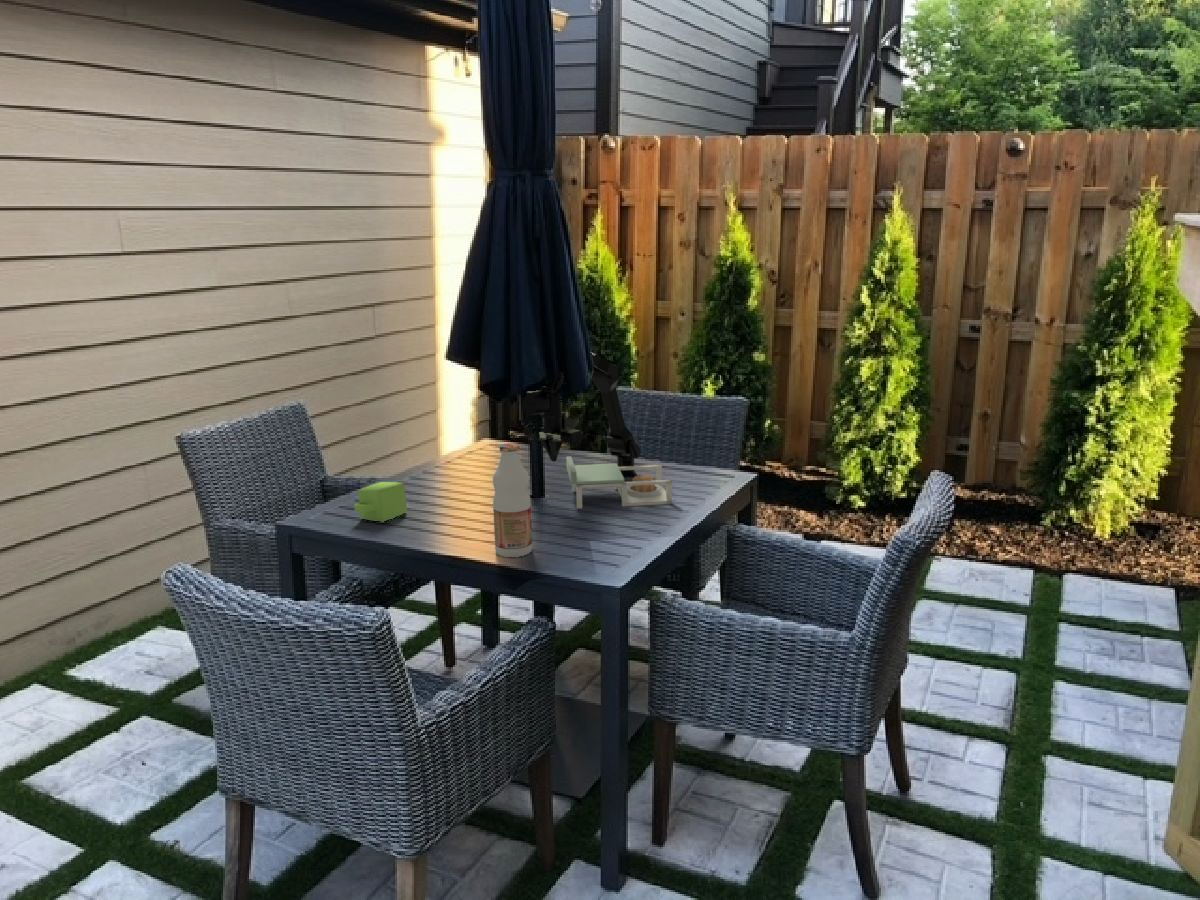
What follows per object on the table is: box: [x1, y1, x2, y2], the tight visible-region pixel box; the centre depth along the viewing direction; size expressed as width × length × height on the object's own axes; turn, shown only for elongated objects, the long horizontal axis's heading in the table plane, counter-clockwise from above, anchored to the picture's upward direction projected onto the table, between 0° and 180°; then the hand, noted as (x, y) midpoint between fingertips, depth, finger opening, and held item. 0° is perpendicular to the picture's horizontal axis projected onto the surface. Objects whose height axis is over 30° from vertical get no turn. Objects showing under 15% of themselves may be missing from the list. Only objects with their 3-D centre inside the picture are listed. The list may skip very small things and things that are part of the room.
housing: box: [571, 464, 673, 509], centre depth 287 cm, size 19×28×7 cm
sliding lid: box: [565, 455, 626, 485], centre depth 285 cm, size 19×16×4 cm
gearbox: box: [353, 481, 408, 523], centre depth 273 cm, size 18×10×10 cm, turn 153°
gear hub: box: [632, 474, 655, 492], centre depth 288 cm, size 6×6×5 cm
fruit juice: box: [492, 442, 533, 558], centre depth 239 cm, size 9×9×28 cm
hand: (553, 461), depth 283 cm, fingers closed
